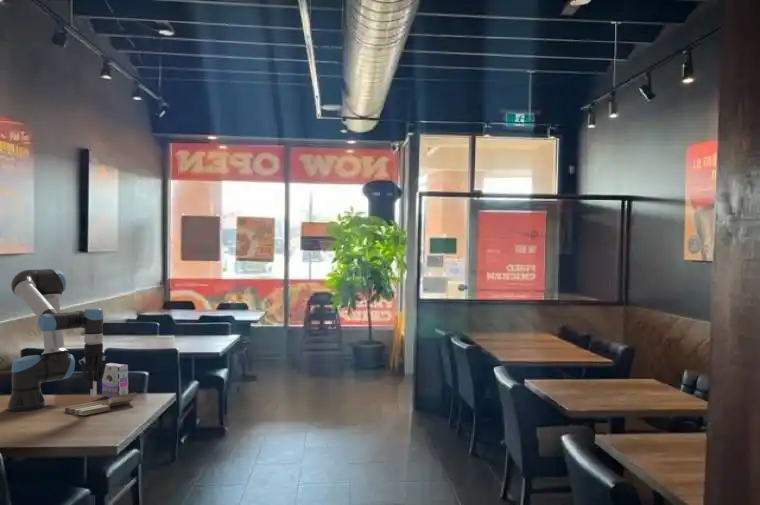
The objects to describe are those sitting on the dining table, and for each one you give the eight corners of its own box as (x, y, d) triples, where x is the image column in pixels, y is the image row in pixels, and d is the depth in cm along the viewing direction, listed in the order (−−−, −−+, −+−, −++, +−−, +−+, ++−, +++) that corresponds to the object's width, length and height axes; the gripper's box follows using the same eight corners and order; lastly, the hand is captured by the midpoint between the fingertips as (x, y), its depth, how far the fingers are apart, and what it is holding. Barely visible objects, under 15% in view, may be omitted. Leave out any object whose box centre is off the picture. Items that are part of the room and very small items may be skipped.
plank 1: (74, 414, 281) (74, 409, 281) (100, 408, 290) (100, 404, 290) (83, 415, 276) (83, 410, 276) (109, 410, 285) (109, 405, 285)
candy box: (128, 398, 312) (128, 364, 312) (118, 400, 307) (118, 366, 307) (111, 394, 319) (111, 362, 320) (101, 397, 314) (100, 364, 315)
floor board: (65, 411, 285) (64, 407, 285) (121, 400, 306) (121, 396, 306) (72, 414, 281) (72, 409, 281) (129, 402, 301) (129, 398, 301)
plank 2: (105, 407, 292) (104, 403, 292) (129, 402, 301) (128, 399, 301) (113, 400, 287) (111, 396, 288) (137, 396, 296) (136, 392, 297)
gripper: (83, 345, 274) (82, 399, 275) (112, 342, 284) (111, 394, 285) (75, 343, 279) (74, 397, 279) (103, 340, 289) (103, 392, 289)
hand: (93, 395), depth 282 cm, fingers closed
